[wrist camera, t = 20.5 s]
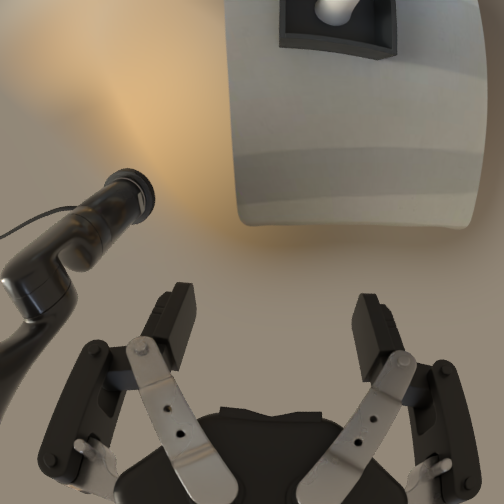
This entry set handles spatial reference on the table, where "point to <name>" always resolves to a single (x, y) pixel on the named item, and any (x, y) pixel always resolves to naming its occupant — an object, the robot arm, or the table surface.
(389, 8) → the bin
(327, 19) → the cosmetic bottle
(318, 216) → the table surface
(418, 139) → the table surface
